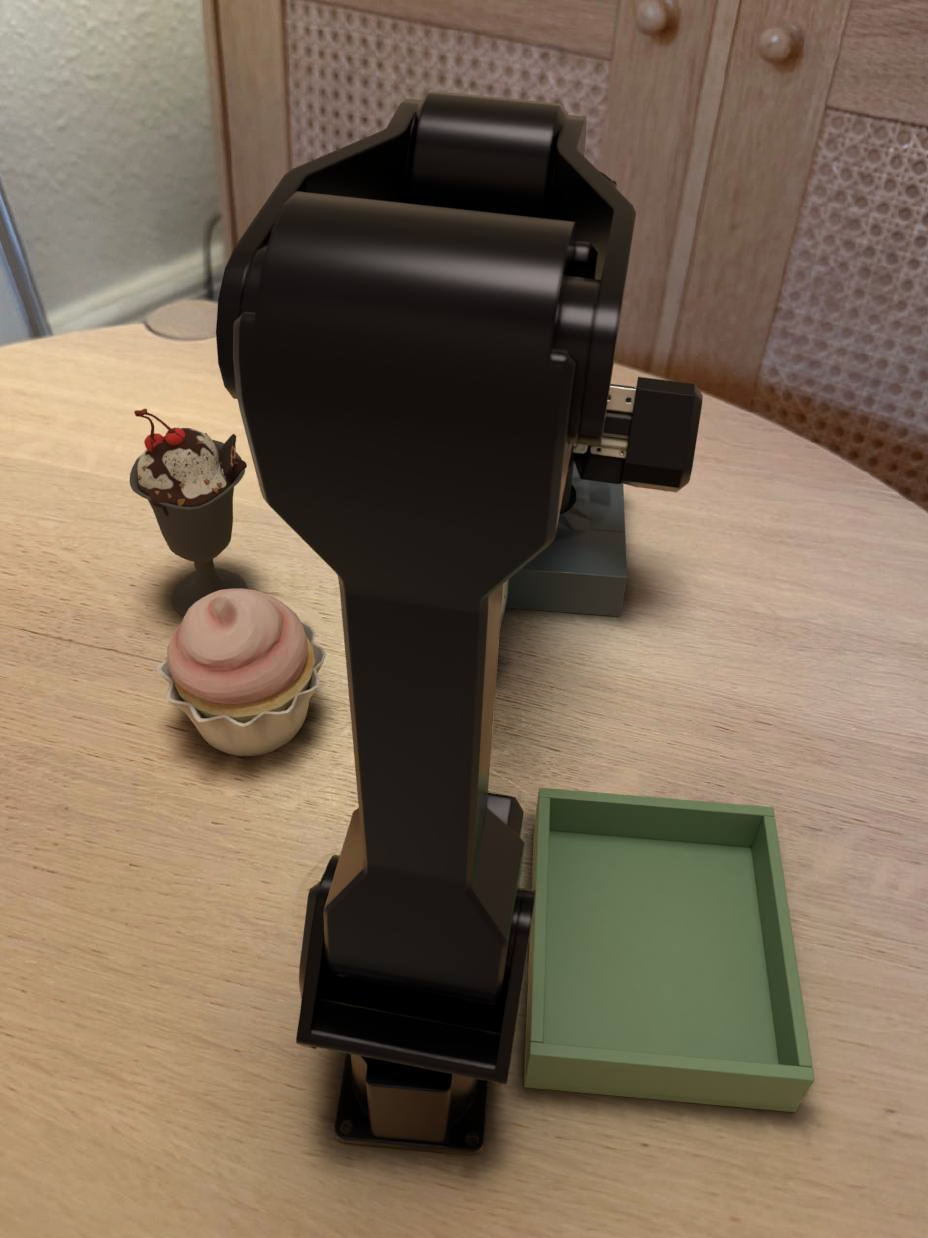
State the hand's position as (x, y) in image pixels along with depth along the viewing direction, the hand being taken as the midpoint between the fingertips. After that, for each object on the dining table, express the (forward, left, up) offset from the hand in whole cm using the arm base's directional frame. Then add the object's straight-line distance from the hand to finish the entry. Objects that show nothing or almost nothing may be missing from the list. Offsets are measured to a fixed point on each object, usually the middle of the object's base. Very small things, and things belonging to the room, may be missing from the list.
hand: (543, 444), depth 73 cm
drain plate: (-3, 0, -7) cm, 7 cm away
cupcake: (-20, +16, -7) cm, 27 cm away
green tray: (-33, -7, -7) cm, 35 cm away
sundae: (-10, +21, -7) cm, 25 cm away
